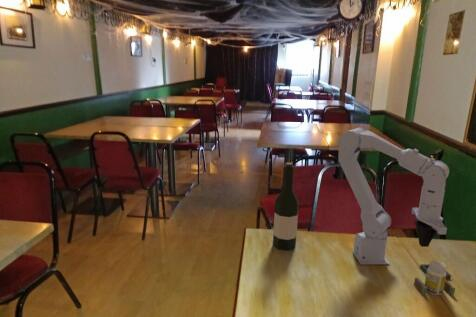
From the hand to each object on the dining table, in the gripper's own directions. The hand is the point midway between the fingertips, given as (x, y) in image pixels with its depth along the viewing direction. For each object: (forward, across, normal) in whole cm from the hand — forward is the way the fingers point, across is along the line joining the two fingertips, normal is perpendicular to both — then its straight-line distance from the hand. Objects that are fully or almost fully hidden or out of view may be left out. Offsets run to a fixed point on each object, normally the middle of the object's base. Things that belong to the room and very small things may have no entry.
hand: (423, 245), depth 102 cm
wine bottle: (+10, +18, +39) cm, 44 cm away
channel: (+10, -8, 0) cm, 13 cm away
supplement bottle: (+10, -8, 0) cm, 13 cm away
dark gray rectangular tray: (+10, +1, -6) cm, 11 cm away
